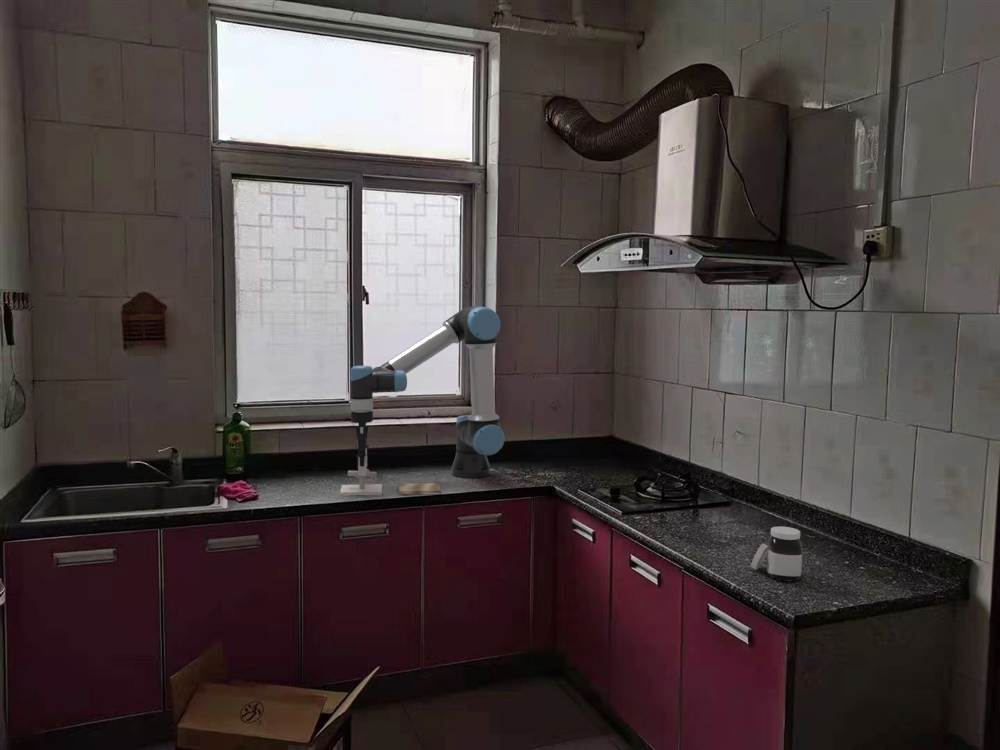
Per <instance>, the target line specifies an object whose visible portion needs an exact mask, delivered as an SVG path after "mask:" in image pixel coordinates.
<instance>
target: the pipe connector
mask: <svg viewBox="0 0 1000 750" xmlns="http://www.w3.org/2000/svg"><path fill="white" fill-rule="evenodd" d="M347 476H348V477H355V478H356V479H359V484H358V485H359V488H361V489H363V488H365V485H366V478H367V477H369V478H377V476H378V472H377V471H370V469H368V468H366V475H365V476H358V470H348V471H347Z"/></svg>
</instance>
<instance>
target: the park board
mask: <svg viewBox="0 0 1000 750" xmlns="http://www.w3.org/2000/svg"><path fill="white" fill-rule="evenodd" d="M422 493H440V494H441V488H440V484H439V483H438V482H436V483H435V482H434V483H433V482H431V483H430V482H428V483H427V482H425V483H424V482H423V483H399V484H398V494H399V496H400V495H401V496H402V495H403V494H414V495H423V494H422ZM403 496H404V495H403Z"/></svg>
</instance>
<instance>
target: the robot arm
mask: <svg viewBox="0 0 1000 750" xmlns="http://www.w3.org/2000/svg"><path fill="white" fill-rule="evenodd" d="M500 329H501V319H500V317H499V315H498V314H497V313H496V311H495V310H493V308H490V307H488V306H466V307H464V308H462V309H461V310H459V311H458V312H456V313H454V314H453V315H452V316H450V317H449V318H447V319H446V320H444V321H443V323H442V326H440V327H439V328H438V329H435V330H434V331H432V332H431V333H429V334H428V335H425V337H424V338H421V339H420V340H419V341H417V342H415V343H414V344H412V345H411V346H409V347H408V348H407V349H405V350H403V351H402V352H400V353H398V354H397V355H395V356H394V357H393V358H391V359H390V360H388V361H387V362H385V363H383V364H381V365H380V366H376V367H372V366H371V365H354V366H352V367H351V368H350V374H349V377H350V378H349V383H350V385H349V387H350V401H348V404H349V405H350V410H351V412H350V422H351V423H353V424H354V423H355V424H358V426H356V428H355V431H356V432H355V433H356V439H357V453H356V454H355V458H357V469H358V470H357V471H358V476H365V475H366V469H367V467H368V450H367V449H369V444H368V442H367V440H368V433H369V426H367V424H368V423H369V424H370V423H372V422H373V421H374V415H373V414H374V412H373V409H374V399H373V394H378V393H402V392H405V391H406V390H407V386H408V376H407V374H408V373H410V372H411V371H413V370H414V369H415V368H417V367H420V366H421V365H422V364H424V363H425V362H427V361H428V360H430V359H431V358H433V357H434V356H435V355H438V354H439V353H440V352H442V351H443V350H445V349H446V348H448V347H449V346H451V345H452V344H459V343H460V342H462V341H464V346H466V347H467V349H468V351H469V373H470V374H469V375H470V377H469V378H470V379H469V380H470V398H471V414H469V415H467V414H466V415H459V416H457V417H456V424H455V427H456V428H455V429H456V430H455V431H456V435H455V437H456V439H455V440H456V441H455V442H456V443H455V445H456V447H455V449H456V450H455V457H454V460H453V462H452V466H451V471H450V472H451V475H453V476H455V477H458V478H464V479H465V478H466V479H467V478H468V479H473V478H474V479H475V478H484V477H488V476H490V475H491V465H490V463H489V460H488V456H492V455H495V454H496V453H498V452H499V451H500V450H501V449H502V448H503V446H504V443H505V433H504V431H503V429H502V428H501V423H500V416H499V415H498V414H497V413H496V405H495V404H496V402H495V400H496V399H495V398H496V397H495V378H494V374H495V373H494V352H493V351H494V349H493V348H494V347H495V346H496V345H497V336H498V334H499V332H500Z"/></svg>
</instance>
